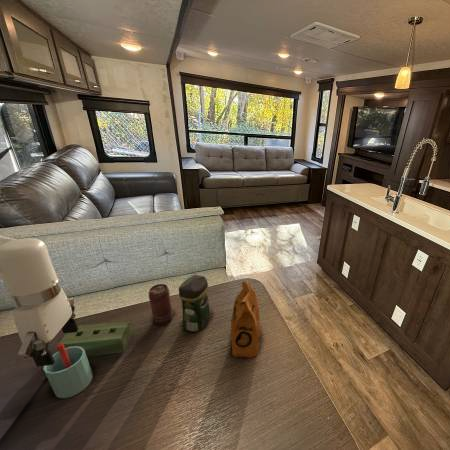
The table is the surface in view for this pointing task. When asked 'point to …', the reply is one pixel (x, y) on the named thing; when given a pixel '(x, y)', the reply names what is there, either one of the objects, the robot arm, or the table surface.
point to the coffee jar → (195, 303)
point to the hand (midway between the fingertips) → (59, 347)
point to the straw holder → (100, 338)
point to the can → (160, 304)
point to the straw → (64, 355)
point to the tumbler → (69, 373)
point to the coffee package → (245, 323)
